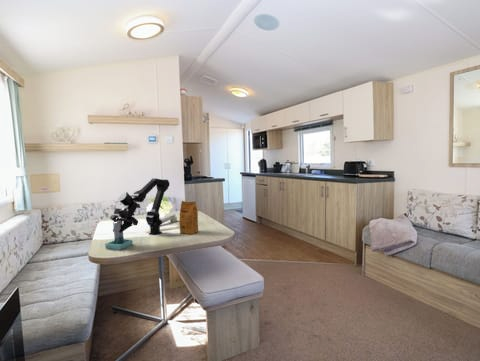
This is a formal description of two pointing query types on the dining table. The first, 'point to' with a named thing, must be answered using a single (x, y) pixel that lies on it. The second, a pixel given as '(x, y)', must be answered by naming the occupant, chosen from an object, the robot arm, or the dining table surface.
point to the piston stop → (118, 236)
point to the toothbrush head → (169, 218)
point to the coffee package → (188, 218)
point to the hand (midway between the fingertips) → (116, 232)
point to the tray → (118, 247)
